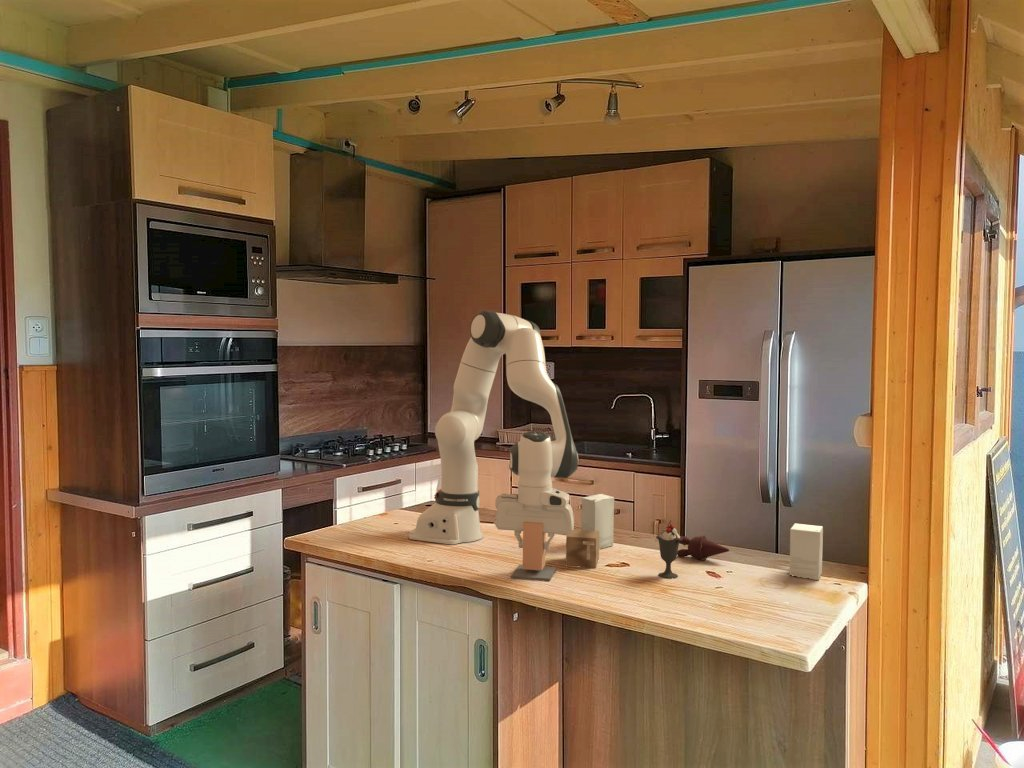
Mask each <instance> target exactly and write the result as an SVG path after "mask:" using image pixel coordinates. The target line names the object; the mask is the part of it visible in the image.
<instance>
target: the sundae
mask: <svg viewBox="0 0 1024 768" xmlns="http://www.w3.org/2000/svg"><path fill="white" fill-rule="evenodd" d="M671 522H672V520H671V519H670V520H669V522H668V524H667V526H666V527H665V528H664V529H663V531H662V533H661V532H660V533H659V534H658V535H656V537H655V539H657V540H658V544H659V553H660V558H661V559H662V560H663V562H664V563H665V565H666V566H665V570H664V571H663V572H659V573H658V577H660V578H662V577H663V578H664V579H668V578H669V579H670V580H671V579H672V578H673V579H676V578H678V577H679V575H678V574H677V573H676V572H675V573H674V572H673V571H672V563H673V562H674V561H676V559H677V557H678V555H677V553H678V550H679V546H680V543H679V542H680V541H681V540H682V537H681V535H680V534H679V533H678V530H677V529H676V528H675V527H674V525H673V524H671ZM663 578H662V579H663Z"/></svg>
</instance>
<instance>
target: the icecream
mask: <svg viewBox="0 0 1024 768" xmlns="http://www.w3.org/2000/svg"><path fill="white" fill-rule="evenodd" d="M680 536H681V535H680ZM681 537H682V540H681V541H680V542H679V545H683V546H686V545H687V549H686V548H685V549H681V548H680V549H678V553H677V557H681V558H685V557H689V556H691V557H692V558H693V559H696V560H698V561H703V562H704V561H706V560H707V559H708V558H710V557H712V556H717V555H720V554H723V553H727V552H729V551H730V549H729V548H727V547H725V546H722V545H720V544H718V543H716V542H713V541H712V540H708V537H706V536H705V535H703V536H702V535H700V536H694V537H692V538H691V539H690V538H688V537H687V536H681Z"/></svg>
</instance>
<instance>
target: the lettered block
mask: <svg viewBox="0 0 1024 768" xmlns="http://www.w3.org/2000/svg"><path fill="white" fill-rule="evenodd" d="M598 560H600V549H599V531H587V530H581V529H573V531H572V532H571V533H570V534H566V539H565V566H566V565H567V566H566V567H573V566H580V567H579V568H587V567H591V568H590V569H596V568H597V566H598V564H599V561H598Z"/></svg>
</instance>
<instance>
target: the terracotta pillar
mask: <svg viewBox="0 0 1024 768" xmlns="http://www.w3.org/2000/svg"><path fill="white" fill-rule="evenodd" d="M546 536H547V535H546V533H544V532H543V523H529V522H523V531H522V540H523V548H522V565H523V569H529V570H542V569H543V568H544V567H546V550H544V549H543V547H544V546H543V543H544V541H546Z"/></svg>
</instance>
